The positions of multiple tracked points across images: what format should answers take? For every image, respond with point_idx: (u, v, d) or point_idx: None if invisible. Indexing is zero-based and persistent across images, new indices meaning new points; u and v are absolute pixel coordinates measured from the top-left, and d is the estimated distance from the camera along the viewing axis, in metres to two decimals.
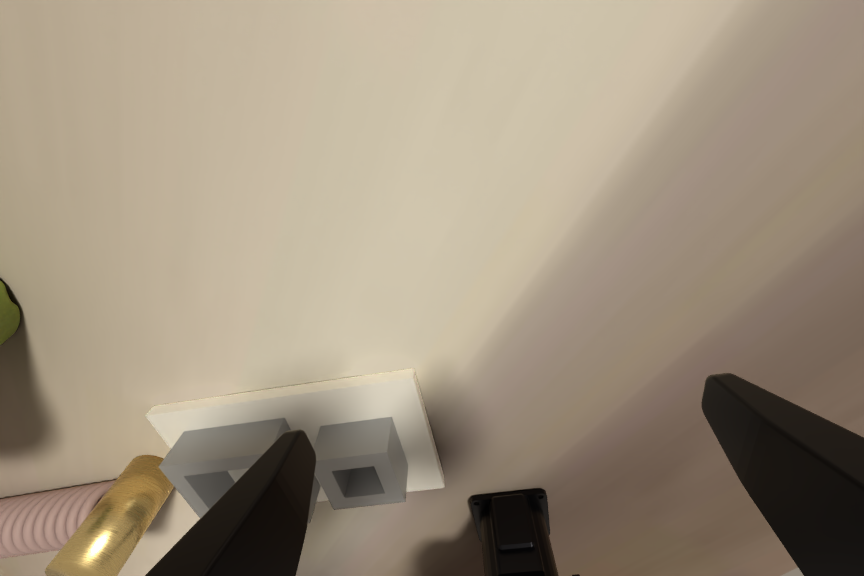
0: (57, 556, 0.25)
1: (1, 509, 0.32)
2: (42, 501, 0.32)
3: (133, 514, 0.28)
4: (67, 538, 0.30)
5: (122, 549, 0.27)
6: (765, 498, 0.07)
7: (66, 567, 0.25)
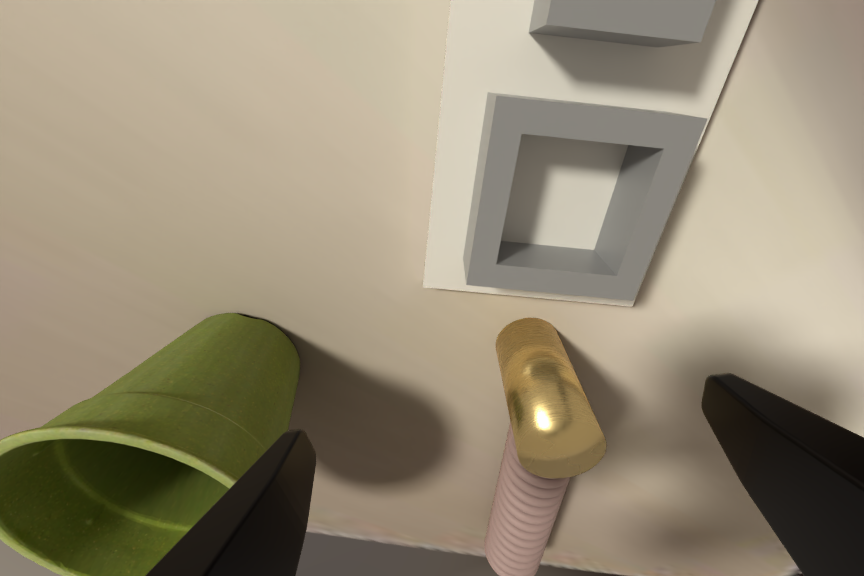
0: (516, 448, 0.18)
1: (497, 494, 0.29)
2: (504, 458, 0.27)
3: (536, 366, 0.20)
4: None
5: (562, 393, 0.18)
6: (765, 498, 0.07)
7: (532, 447, 0.18)
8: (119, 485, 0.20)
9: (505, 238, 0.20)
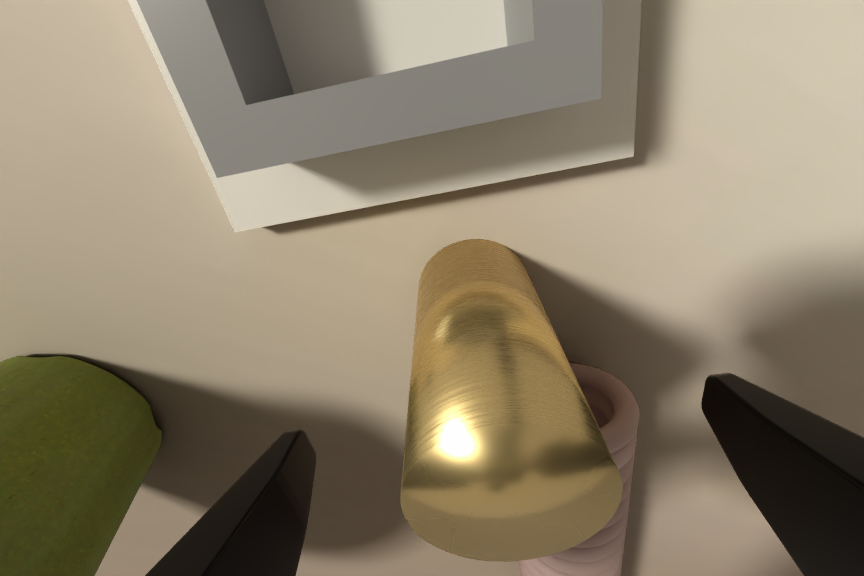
0: None
1: None
2: None
3: (445, 317, 0.09)
4: None
5: (484, 360, 0.08)
6: (765, 498, 0.07)
7: (436, 507, 0.07)
8: None
9: (324, 85, 0.10)
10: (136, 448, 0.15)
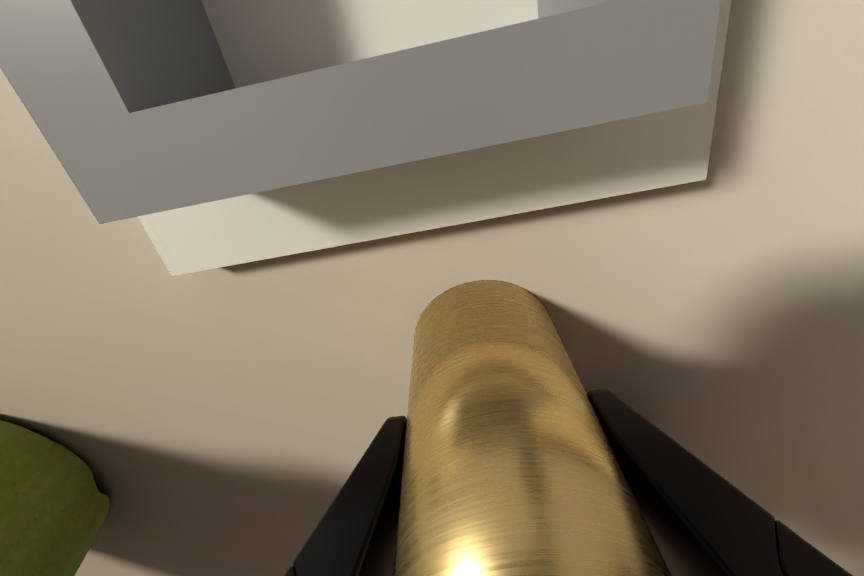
0: None
1: None
2: None
3: (450, 417, 0.07)
4: None
5: (513, 527, 0.05)
6: None
7: None
8: None
9: None
10: (68, 528, 0.13)
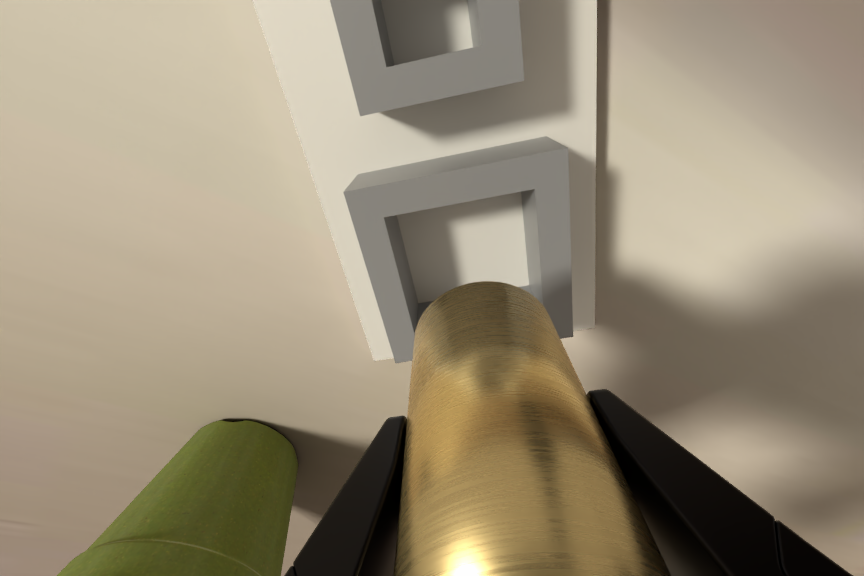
0: None
1: None
2: None
3: (449, 418, 0.07)
4: None
5: (514, 530, 0.05)
6: None
7: None
8: None
9: (433, 298, 0.19)
10: (293, 477, 0.25)
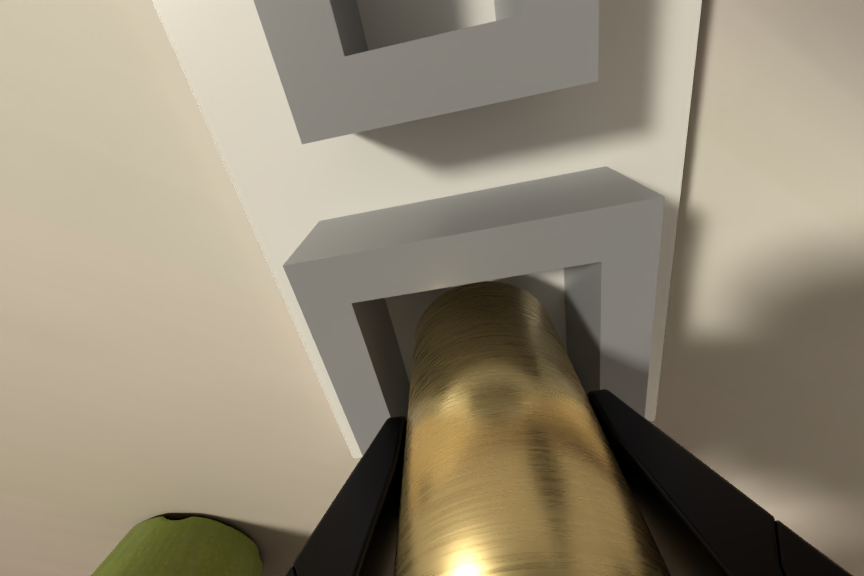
0: None
1: None
2: None
3: (450, 418, 0.07)
4: None
5: (514, 528, 0.05)
6: None
7: None
8: None
9: None
10: None
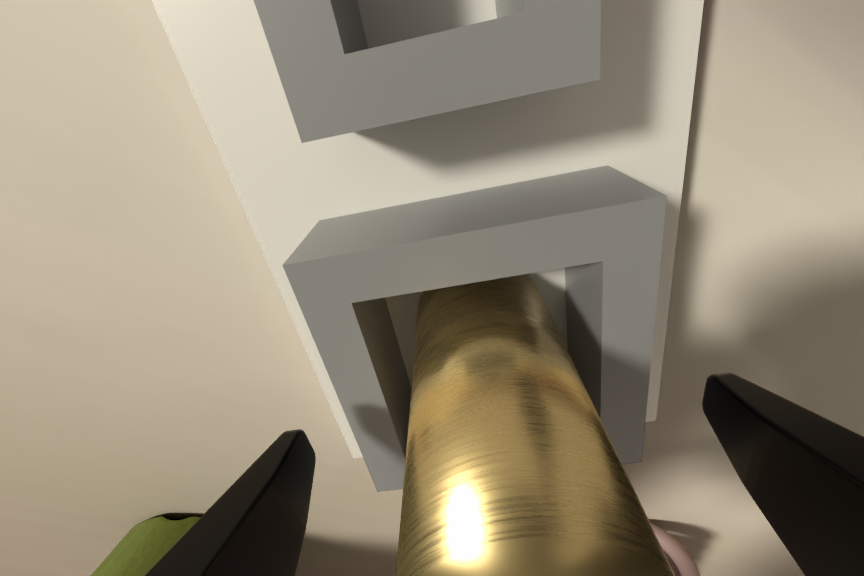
0: None
1: None
2: None
3: (450, 361, 0.08)
4: None
5: (500, 430, 0.06)
6: (766, 498, 0.07)
7: None
8: None
9: None
10: None
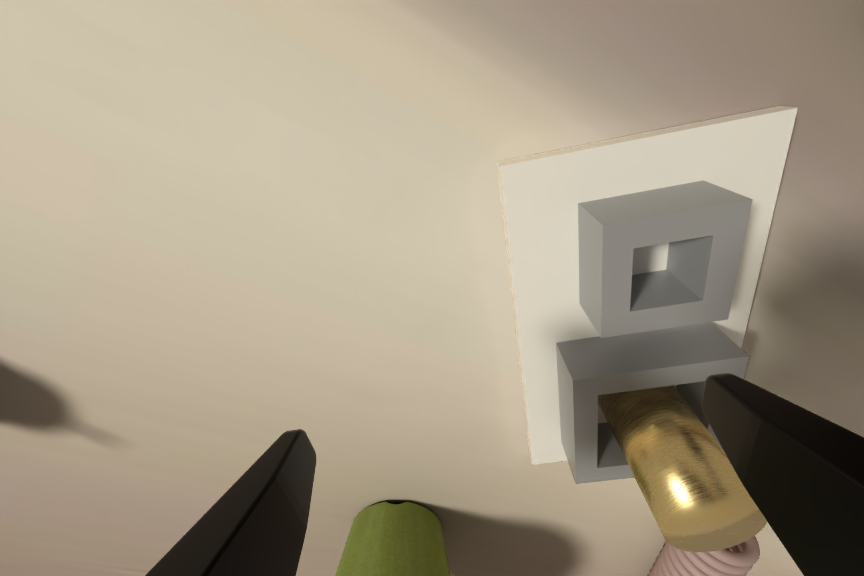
0: (659, 526, 0.17)
1: None
2: (668, 562, 0.30)
3: (654, 425, 0.18)
4: (727, 574, 0.27)
5: (696, 458, 0.16)
6: (765, 498, 0.07)
7: (680, 527, 0.16)
8: None
9: None
10: None
